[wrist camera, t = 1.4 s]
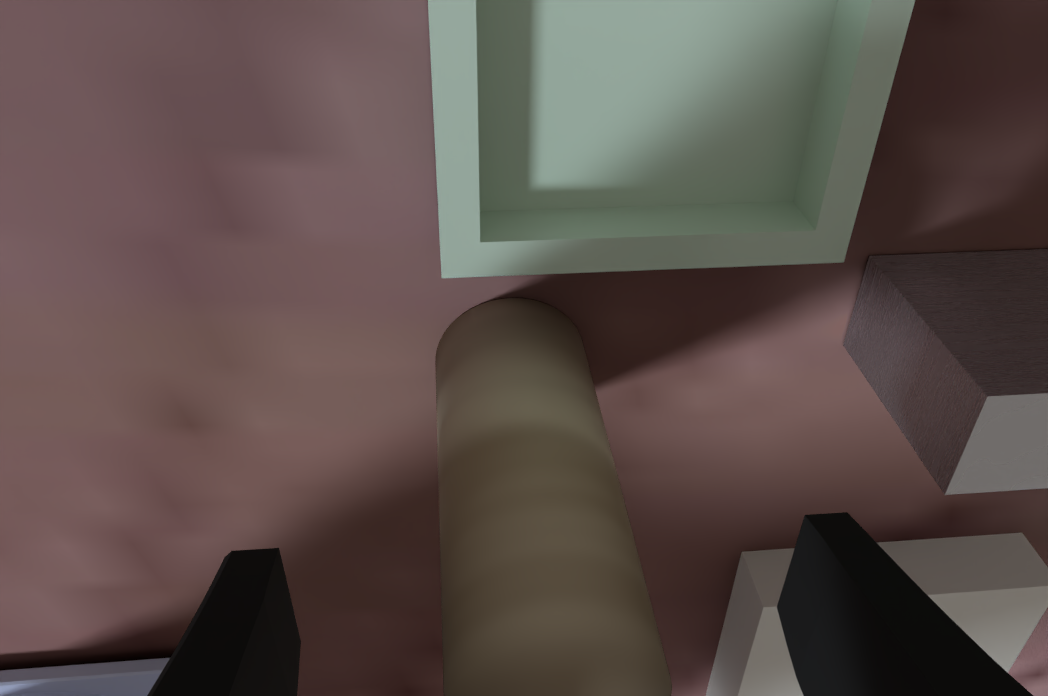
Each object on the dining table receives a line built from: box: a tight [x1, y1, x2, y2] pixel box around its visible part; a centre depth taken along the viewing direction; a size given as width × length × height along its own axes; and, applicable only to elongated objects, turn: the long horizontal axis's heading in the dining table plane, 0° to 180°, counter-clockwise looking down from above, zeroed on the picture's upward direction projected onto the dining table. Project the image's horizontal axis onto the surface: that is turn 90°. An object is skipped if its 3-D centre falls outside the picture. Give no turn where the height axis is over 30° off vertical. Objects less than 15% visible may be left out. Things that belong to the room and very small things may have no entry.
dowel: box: [436, 298, 672, 696], centre depth 13 cm, size 3×3×7 cm
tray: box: [428, 0, 915, 278], centre depth 12 cm, size 6×6×2 cm
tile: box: [706, 533, 1048, 696], centre depth 22 cm, size 6×7×2 cm
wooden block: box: [843, 249, 1048, 495], centre depth 15 cm, size 2×5×4 cm, turn 89°
